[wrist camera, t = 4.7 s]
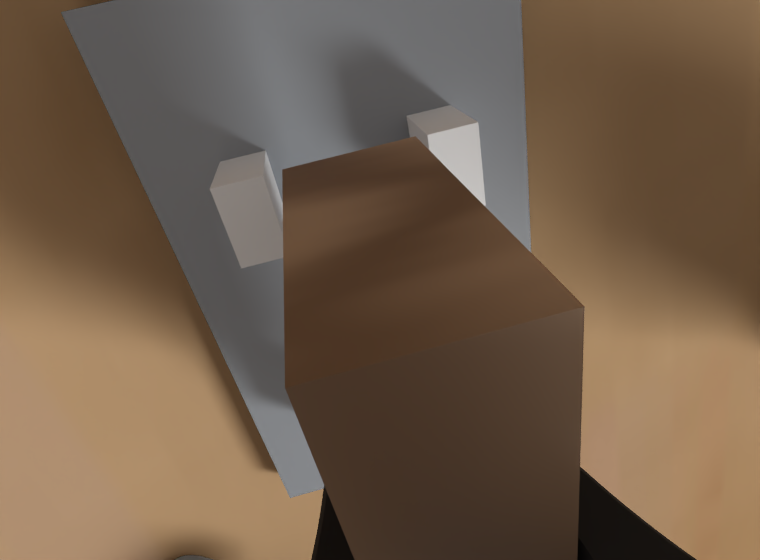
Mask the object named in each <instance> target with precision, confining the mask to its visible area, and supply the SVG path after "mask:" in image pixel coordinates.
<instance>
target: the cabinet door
mask: <svg viewBox="0 0 760 560" xmlns="http://www.w3.org/2000/svg"><path fill="white" fill-rule="evenodd" d="M282 193H283V273H284V353H285V389H286V392H287V394H288V397H289V399H290V402H291V404H292V407H293V409H294V412H295V414H296V416H297V419H298V421H299V424H300V426H301V429H302V431H303V434H304V436H305V439H306V441H307V444H308V446H309V449H310V451H311V454H312V456H313V458H314V461H315V463H316V466H317V468H318V471H319V473H320V476H321V478H322V481H323V483H324V486H325V488H326V491H327V493H328V495H329V498H330V500H331V503H332V505H333V508H334V510H335V513H336V515H337V518H338V520H339V523H340V525H341V528H342V530H343V532H344V535H345V537H346V540H347V542H348V545H349V547H350V550H351V552H352V555H353V557H354V560H577V555H578V519H579V483H580V446H581V410H582V374H583V338H584V306H583V305H582V304H581V303H580V302H579V301H578V300H577V299H576V298H575V296H574V295H573V294H572V293H571V292H570V291H569V290H568V289H567V288H566V287H565V286H564V285H563V284H562V283H561V282H560V281H559V280H558V279H557V278H556V277H555V276H554V275H553V274H552V273H551V272H550V271H549V270H548V269H547V268H546V267H545V266H544V265H543V264H542V263H541V262H540V261H539V260H538V259H537V258H536V257H535V256H534V255H533V254H532V253H531V252H530V251H529V250H528V249H527V248H526V247H525V246H524V245H523V244H522V243H521V242H520V241H519V240H518V239H517V238H516V237H515V236H514V235H513V234H512V233H511V232H510V231H509V230H508V229H507V228H506V227H505V226H504V225H503V224H502V223H501V222H500V221H499V220H498V219H497V218H496V217H495V216H494V215H493V214H492V213H491V212H490V211H489V210H488V209H487V208H486V207H485V206H484V205H483V204H482V203H481V202H480V201H479V200H478V199H477V198H476V197H475V196H474V195H473V194H472V193H471V192H470V191H469V190H468V189H467V188H466V187H465V186H464V185H463V184H462V183H461V182H460V181H459V180H458V179H457V178H456V177H455V176H454V175H453V174H452V173H451V172H450V171H449V170H448V169H447V168H446V167H445V166H444V165H443V164H442V163H441V161H440V160H439V159H438V158H437V157H436V156H435V155H434V154H433V153H432V152H431V151H430V150H429V149H428V148H427V147H426V146H425V145H424V144H423V143H422V142H421V141H420V140H419V139H418V138H417V137H416V136H414V137H410V138H406V139H402V140H398V141H394V142H390V143H386V144H382V145H378V146H374V147H370V148H366V149H362V150H358V151H354V152H350V153H346V154H342V155H338V156H334V157H330V158H326V159H322V160H318V161H314V162H310V163H306V164H302V165H298V166H294V167H290V168H286V169H282Z"/></svg>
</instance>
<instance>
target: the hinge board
mask: <svg viewBox="0 0 760 560" xmlns="http://www.w3.org/2000/svg"><path fill="white" fill-rule="evenodd" d="M61 14H62V16H63V18H64V20H65V22H66V24H67V26H68V28H69V31H70V33H71V35H72V37H73V39H74V41H75V43H76V45H77V48H78V50H79V52H80V54H81V56H82V58H83V60H84V62H85V64H86V67H87V69H88V71H89V73H90V75H91V77H92V79H93V81H94V84H95V86H96V88H97V90H98V92H99V94H100V96H101V98H102V100H103V103H104V105H105V107H106V109H107V111H108V113H109V115H110V117H111V120H112V122H113V124H114V126H115V128H116V130H117V132H118V134H119V136H120V139H121V141H122V143H123V145H124V147H125V149H126V151H127V153H128V156H129V158H130V160H131V162H132V164H133V166H134V168H135V170H136V172H137V175H138V177H139V179H140V181H141V183H142V185H143V187H144V189H145V192H146V194H147V196H148V198H149V200H150V202H151V204H152V206H153V208H154V211H155V213H156V215H157V217H158V219H159V221H160V223H161V225H162V228H163V230H164V232H165V234H166V236H167V238H168V240H169V242H170V244H171V247H172V249H173V251H174V253H175V255H176V257H177V259H178V261H179V264H180V266H181V268H182V270H183V272H184V274H185V276H186V278H187V280H188V283H189V285H190V287H191V289H192V291H193V293H194V295H195V297H196V300H197V302H198V304H199V306H200V308H201V310H202V312H203V314H204V316H205V319H206V321H207V323H208V325H209V327H210V329H211V331H212V333H213V336H214V338H215V340H216V342H217V344H218V346H219V348H220V350H221V352H222V355H223V357H224V359H225V361H226V363H227V365H228V367H229V369H230V372H231V374H232V376H233V378H234V380H235V382H236V384H237V386H238V388H239V391H240V393H241V395H242V397H243V399H244V401H245V403H246V405H247V408H248V410H249V412H250V414H251V416H252V418H253V420H254V422H255V424H256V427H257V429H258V431H259V433H260V435H261V437H262V439H263V441H264V444H265V446H266V448H267V450H268V452H269V454H270V456H271V458H272V460H273V463H274V465H275V467H276V469H277V471H278V473H279V475H280V477H281V480H282V482H283V484H284V486H285V488H286V490H287V492H288V494H289V496H290V498H292V497H295V496H299V495H302V494H306V493H309V492H313V491H316V490H320V489H323V488H324V483H323V481H322V478H321V476H320V473H319V471H318V468H317V466H316V463H315V461H314V458H313V456H312V454H311V451H310V449H309V446H308V444H307V441H306V439H305V436H304V434H303V431H302V429H301V426H300V424H299V421H298V419H297V416H296V414H295V412H294V409H293V407H292V404H291V402H290V399H289V397H288V394H287V392H286V389H285V353H284V273H283V193H282V169H286V168H290V167H294V166H298V165H302V164H306V163H310V162H314V161H318V160H322V159H326V158H330V157H334V156H338V155H342V154H346V153H350V152H354V151H358V150H362V149H366V148H370V147H374V146H378V145H382V144H386V143H390V142H394V141H398V140H402V139H406V138H410V137H414V136H416V137H417V138H418V139H419V140H420V141H421V142H422V143H423V144H424V145H425V146H426V147H427V148H428V149H429V150H430V151H431V152H432V153H433V154H434V155H435V156H436V157H437V158H438V159H439V160H440V161H441V163H442V164H443V165H444V166H445V167H446V168H447V169H448V170H449V171H450V172H451V173H452V174H453V175H454V176H455V177H456V178H457V179H458V180H459V181H460V182H461V183H462V184H463V185H464V186H465V187H466V188H467V189H468V190H469V191H470V192H471V193H472V194H473V195H474V196H475V197H476V198H477V199H478V200H479V201H480V202H481V203H482V204H483V205H484V206H485V207H486V208H487V209H488V210H489V211H490V212H491V213H492V214H493V215H494V216H495V217H496V218H497V219H498V220H499V221H500V222H501V223H502V224H503V225H504V226H505V227H506V228H507V229H508V230H509V231H510V232H511V233H512V234H513V235H514V236H515V237H516V238H517V239H518V240H519V241H520V242H521V243H522V244H523V245H524V246H525V247H526V248H527V249H528V250H529V251H530V252H531V238H530V213H529V187H528V162H527V137H526V112H525V87H524V61H523V36H522V11H521V0H113V1H108V2H104V3H99V4H95V5H91V6H86V7H82V8H77V9H73V10H68V11H64V12H61Z"/></svg>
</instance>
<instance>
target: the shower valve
mask: <svg viewBox="0 0 760 560" xmlns="http://www.w3.org/2000/svg"><path fill="white" fill-rule="evenodd" d="M175 560H213V559H209V558H205V557H202V556H196V555H186V556H182V557H179V558H177V559H175Z"/></svg>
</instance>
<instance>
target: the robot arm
mask: <svg viewBox="0 0 760 560" xmlns="http://www.w3.org/2000/svg"><path fill="white" fill-rule="evenodd" d="M311 560H354V557H353V555H352V552H351V550H350V547H349V545H348V542H347V540H346V537H345V535H344V532H343V530H342V528H341V525H340V523H339V520H338V518H337V515H336V513H335V510H334V508H333V505H332V503H331V500H330V498H329V495H328V493H327V491H326V488H325V486H324V491H323V499H322V506H321V512H320V518H319V524H318V530H317V535H316V540H315V545H314V549H313V554H312V559H311ZM577 560H696V559H695V558H693V557H692V556H691V555H689V554H688V553H686V552H685V551H684V550H682V549H681V548H679V547H678V546H677V545H675V544H674V543H673V542H671V541H670V540H669V539H667V538H666V537H665V536H663V535H662V534H661V533H659V532H658V531H657V530H655V529H654V528H653V527H652V526H650V525H649V524H648V523H646V522H645V521H644V520H643V519H641V518H640V517H639V516H638V515H636V514H635V513H634V512H633V511H631V510H630V509H629V508H628V507H626V506H625V505H624V504H623V503H622V502H620V501H619V500H618V499H617V498H616V497H614V496H613V495H612V494H611V493H610V492H608V491H607V490H606V489H605V488H604V487H603V486H602V485H600V484H599V483H598V482H597V481H596V480H595V479H594V478H592V477H591V476H590V475H589V474H588V473H587V472H586V471H584V470H583V469H582V468H581V467H580V483H579V519H578V555H577Z"/></svg>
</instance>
